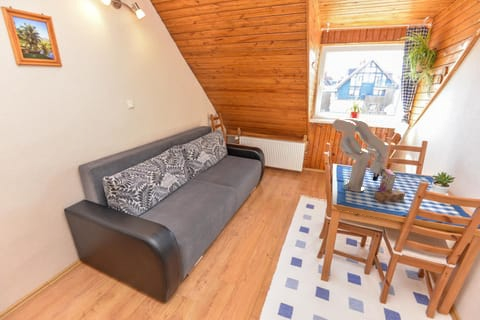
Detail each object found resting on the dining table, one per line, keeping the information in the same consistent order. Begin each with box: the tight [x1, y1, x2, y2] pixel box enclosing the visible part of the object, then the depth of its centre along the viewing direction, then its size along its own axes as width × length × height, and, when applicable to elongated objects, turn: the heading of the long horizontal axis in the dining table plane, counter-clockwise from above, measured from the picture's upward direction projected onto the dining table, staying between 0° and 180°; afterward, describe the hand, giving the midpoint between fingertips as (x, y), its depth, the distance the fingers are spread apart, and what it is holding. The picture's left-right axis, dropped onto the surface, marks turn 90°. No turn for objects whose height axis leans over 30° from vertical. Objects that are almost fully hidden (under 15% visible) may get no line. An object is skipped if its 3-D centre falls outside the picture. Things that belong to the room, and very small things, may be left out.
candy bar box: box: [378, 168, 397, 192], centre depth 164 cm, size 11×5×16 cm, turn 165°
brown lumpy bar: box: [373, 189, 406, 203], centre depth 156 cm, size 20×6×5 cm, turn 105°
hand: (374, 180), depth 176 cm, fingers closed
